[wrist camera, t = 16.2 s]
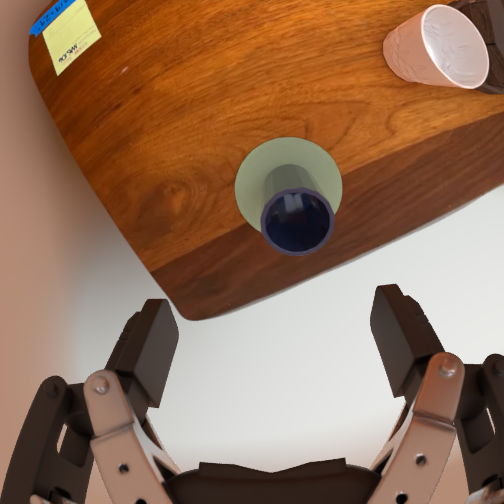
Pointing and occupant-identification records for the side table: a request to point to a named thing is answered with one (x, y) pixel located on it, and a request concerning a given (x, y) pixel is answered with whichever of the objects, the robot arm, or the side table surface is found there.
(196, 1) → the side table surface
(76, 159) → the side table surface
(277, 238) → the tumbler
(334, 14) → the side table surface
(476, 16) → the mug
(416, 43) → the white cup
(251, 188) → the mat
